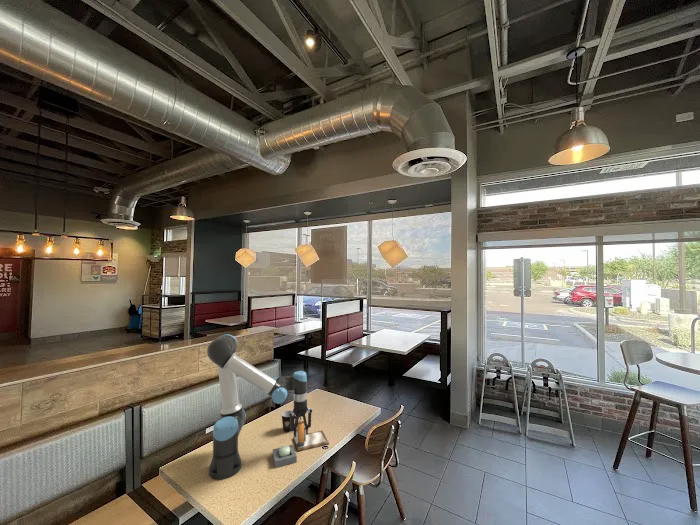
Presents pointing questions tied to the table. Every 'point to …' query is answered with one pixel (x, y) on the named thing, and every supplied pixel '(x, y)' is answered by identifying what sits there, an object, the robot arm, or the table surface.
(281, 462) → the button housing
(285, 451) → the button
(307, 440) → the board
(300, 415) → the robot arm
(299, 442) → the marker
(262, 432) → the table surface
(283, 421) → the coffee mug
